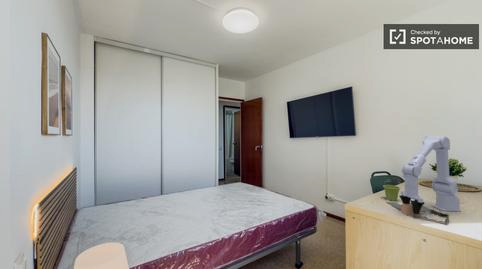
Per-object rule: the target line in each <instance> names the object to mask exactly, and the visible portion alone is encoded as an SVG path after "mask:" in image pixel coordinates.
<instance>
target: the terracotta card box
mask: <svg viewBox="0 0 482 269" xmlns="http://www.w3.org/2000/svg"><path fill="white" fill-rule="evenodd" d="M400 213H401V214H403V215H404V216H418V217H420V216H421V213H423V212H422V207H421V209H420V212H419V214H414V213H413V206H412V204H401V211H400Z"/></svg>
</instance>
